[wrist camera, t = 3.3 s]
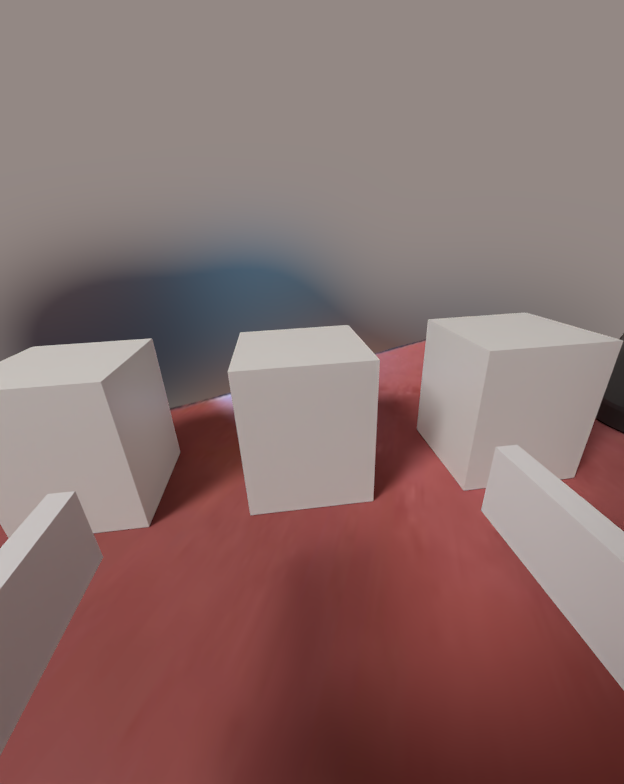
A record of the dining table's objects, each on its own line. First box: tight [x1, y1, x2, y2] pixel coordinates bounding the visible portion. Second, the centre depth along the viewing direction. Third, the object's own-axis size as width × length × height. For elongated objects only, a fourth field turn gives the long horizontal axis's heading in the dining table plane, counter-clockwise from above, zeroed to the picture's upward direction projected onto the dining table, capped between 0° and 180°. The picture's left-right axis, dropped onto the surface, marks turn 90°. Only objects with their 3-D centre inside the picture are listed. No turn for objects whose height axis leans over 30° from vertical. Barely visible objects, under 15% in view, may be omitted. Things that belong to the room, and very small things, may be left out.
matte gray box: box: [0, 339, 180, 538], centre depth 25 cm, size 9×9×11 cm
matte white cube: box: [417, 313, 623, 490], centre depth 27 cm, size 9×9×11 cm
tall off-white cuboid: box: [228, 325, 380, 515], centre depth 26 cm, size 9×9×11 cm
